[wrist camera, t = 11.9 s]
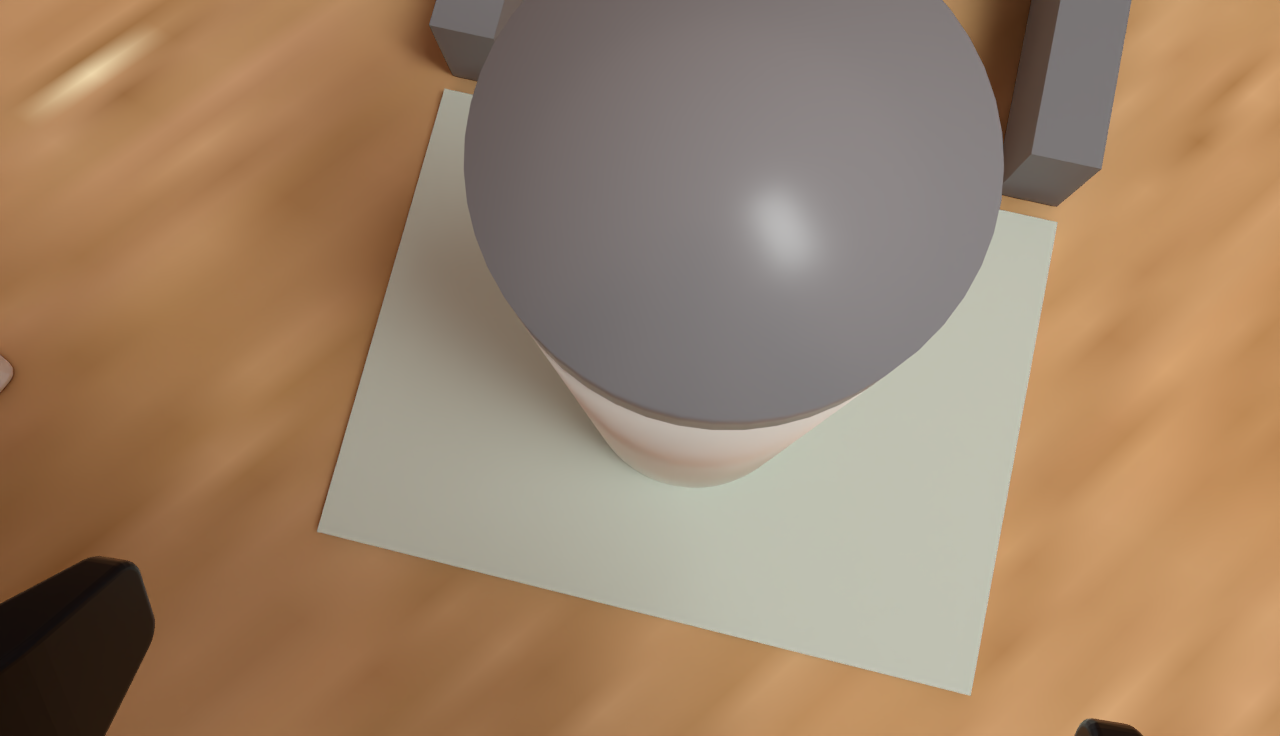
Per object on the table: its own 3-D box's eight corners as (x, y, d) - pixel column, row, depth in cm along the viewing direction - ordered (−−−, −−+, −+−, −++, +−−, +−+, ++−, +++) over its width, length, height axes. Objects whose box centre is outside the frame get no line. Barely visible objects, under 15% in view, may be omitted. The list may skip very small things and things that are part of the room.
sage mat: (966, 693, 22) (970, 696, 22) (321, 531, 23) (316, 531, 23) (1052, 226, 24) (1057, 222, 23) (447, 94, 25) (444, 88, 24)
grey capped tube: (834, 447, 23) (1088, 315, 9) (625, 517, 23) (557, 493, 9) (760, 246, 24) (889, -160, 10) (558, 313, 23) (400, -1, 10)
